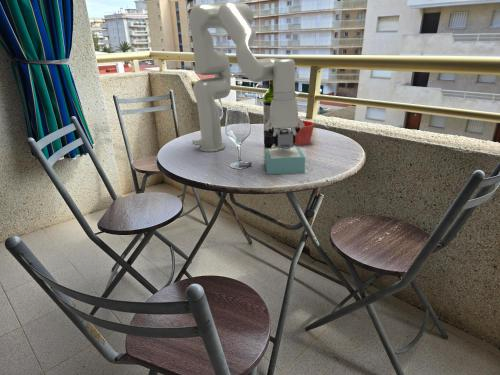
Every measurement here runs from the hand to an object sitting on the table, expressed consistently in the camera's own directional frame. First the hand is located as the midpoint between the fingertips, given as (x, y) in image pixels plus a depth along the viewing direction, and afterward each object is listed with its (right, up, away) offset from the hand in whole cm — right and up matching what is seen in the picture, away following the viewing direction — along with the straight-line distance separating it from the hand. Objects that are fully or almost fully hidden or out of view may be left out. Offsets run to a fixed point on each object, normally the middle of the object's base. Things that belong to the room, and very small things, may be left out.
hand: (284, 144), depth 120 cm
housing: (0, 0, 0) cm, 0 cm away
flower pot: (+12, +5, +33) cm, 35 cm away
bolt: (-15, -6, +6) cm, 17 cm away
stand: (0, -9, +4) cm, 9 cm away
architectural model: (0, -2, +20) cm, 20 cm away
